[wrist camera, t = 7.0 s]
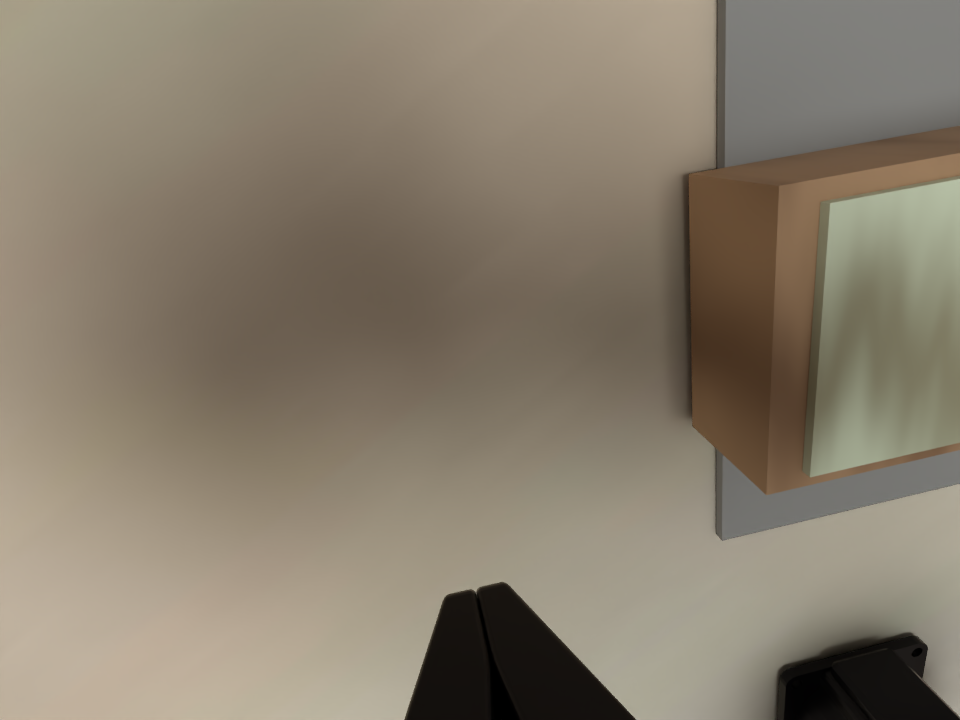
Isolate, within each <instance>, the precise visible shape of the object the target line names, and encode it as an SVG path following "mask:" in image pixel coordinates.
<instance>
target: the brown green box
mask: <svg viewBox="0 0 960 720" xmlns="http://www.w3.org/2000/svg"><path fill="white" fill-rule="evenodd" d="M689 228H690V294H691V360H692V426H693V427H694V428H695V429H696V430H697V431H698V432H699V433H700V434H701V435H702V436H704V437H705V438H706V439H707V440H708V441H709V442H710V443H711V444H712V445H713V446H714V447H715V448H716V449H717V450H719V451H720V452H721V453H722V454H723V455H724V456H725V457H726V458H727V459H728V460H729V461H730V462H731V463H732V464H733V465H735V466H736V467H737V468H738V469H739V470H740V471H741V472H742V473H743V474H744V475H745V476H746V477H747V478H748V479H749V480H751V481H752V482H753V483H754V484H755V485H756V486H757V487H758V488H759V489H760V490H761V491H762V492H763V493H764V494H765V495H770V494H774V493H778V492H783V491H787V490H791V489H795V488H800V487H804V486H808V485H813V484H817V483H821V482H825V481H830V480H834V479H838V478H842V477H847V476H851V475H855V474H860V473H864V472H868V471H872V470H877V469H881V468H885V467H889V466H894V465H898V464H902V463H907V462H911V461H915V460H919V459H924V458H928V457H932V456H936V455H941V454H945V453H949V452H954V451H958V450H960V126H955V127H949V128H944V129H938V130H932V131H927V132H921V133H916V134H910V135H904V136H899V137H893V138H887V139H882V140H876V141H871V142H865V143H859V144H854V145H848V146H843V147H837V148H831V149H826V150H820V151H815V152H809V153H803V154H798V155H792V156H787V157H781V158H775V159H770V160H764V161H759V162H753V163H747V164H742V165H736V166H730V167H725V168H719V169H714V170H708V171H702V172H697V173H691V174H689Z"/></svg>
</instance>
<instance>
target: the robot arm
mask: <svg viewBox="0 0 960 720" xmlns="http://www.w3.org/2000/svg"><path fill="white" fill-rule="evenodd" d="M927 651H928V647H927V645H926V644H925V643H924V642H923V641H922V640H921V639H919V638H918V637H917V636H910V637H906V638H902V639H899V640H895V641H891V642H887V643H883V644H880V645H876V646H872V647H868V648H864V649H861V650H857V651H853V652H849V653H845V654H842V655H838V656H834V657H830V658H827V659H823V660H819V661H815V662H811V663H808V664H804V665H800V666H796V667H792V668H790V669H787V670H786V671H784V672H783V673H782V675H781V676H780V682H779V699H778V715H777V720H960V717H959V716H958V715H957V714H956V713H955V712H954V711H953V710H952V709H951V708H950V707H949V706H948V705H947V704H946V703H945V702H944V701H943V700H942V699H941V698H940V697H939V696H938V695H937V694H936V693H935V692H934V691H933V690H932V689H931V688H930V687H929V686H928V685H927V684H926V682H925V681H924V680H923V679H922V677H923V672H924V666H925V661H926V656H927ZM404 720H636V719H635V718H634V717H633V716H632V715H631V714H630V713H629V712H628V711H627V710H626V708H625V707H624V706H623V705H622V704H621V703H620V702H619V701H618V700H617V699H616V698H615V697H614V696H613V695H612V694H611V693H610V692H609V690H608V689H607V688H606V687H605V686H604V685H603V684H602V683H601V682H600V681H599V680H598V679H597V678H596V677H595V676H594V675H593V674H592V673H591V671H590V670H589V669H588V668H587V667H586V666H585V665H584V664H583V663H582V662H581V661H580V660H579V659H578V658H577V657H576V656H575V655H574V653H573V652H572V651H571V650H570V649H569V648H568V647H567V646H566V645H565V644H564V643H563V642H562V641H561V640H560V639H559V638H558V637H557V636H556V634H555V633H554V632H553V631H552V630H551V629H550V628H549V627H548V626H547V625H546V624H545V623H544V622H543V621H542V620H541V619H540V618H539V617H538V615H537V614H536V613H535V612H534V611H533V610H532V609H531V608H530V607H529V606H528V605H527V604H526V603H525V602H524V601H523V600H522V599H521V597H520V596H519V595H518V594H517V593H516V592H515V591H514V590H513V589H512V588H511V587H510V586H509V585H508V584H507V583H504V582H500V583H496V584H491V585H487V586H482V587H479V588H478V589H477V595H476V593H475V591H474V590H471V589H470V590H465V591H461V592H456V593H452V594H448V595H447V596H446V597H445V598H444V600H443V602H442V605H441V609H440V612H439V615H438V618H437V621H436V624H435V627H434V630H433V633H432V636H431V639H430V642H429V645H428V649H427V652H426V655H425V658H424V661H423V664H422V667H421V670H420V673H419V676H418V679H417V682H416V685H415V689H414V692H413V695H412V698H411V701H410V704H409V707H408V710H407V713H406V716H405V719H404Z"/></svg>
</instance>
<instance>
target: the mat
mask: <svg viewBox="0 0 960 720" xmlns="http://www.w3.org/2000/svg"><path fill="white" fill-rule="evenodd" d="M955 126H960V0H718V40H717V169H719V168H725V167H730V166H736V165H742V164H747V163H753V162H759V161H764V160H770V159H775V158H781V157H787V156H792V155H798V154H803V153H809V152H815V151H820V150H826V149H831V148H837V147H843V146H848V145H854V144H859V143H865V142H871V141H876V140H882V139H887V138H893V137H899V136H904V135H910V134H916V133H921V132H927V131H932V130H938V129H944V128H949V127H955ZM956 484H960V450H958V451H954V452H949V453H945V454H941V455H936V456H932V457H928V458H924V459H919V460H915V461H911V462H907V463H902V464H898V465H894V466H889V467H885V468H881V469H877V470H872V471H868V472H864V473H860V474H855V475H851V476H847V477H842V478H838V479H834V480H830V481H825V482H821V483H817V484H813V485H808V486H804V487H800V488H795V489H791V490H787V491H783V492H778V493H774V494H770V495H765V494H764V493H763V492H762V491H761V490H760V489H759V488H758V487H757V486H756V485H755V484H754V483H753V482H752V481H751V480H749V479H748V478H747V477H746V476H745V475H744V474H743V473H742V472H741V471H740V470H739V469H738V468H737V467H736V466H735V465H733V464H732V463H731V462H730V461H729V460H728V459H727V458H726V457H725V456H724V455H723V454H722V453H721V452H720V451H719V450H717V449H716V534H717V535H718V536H719V538H720V539H721V540H722V541H723V540H727V539H731V538H735V537H739V536H744V535H748V534H752V533H756V532H760V531H764V530H769V529H773V528H777V527H781V526H785V525H790V524H794V523H798V522H802V521H806V520H810V519H815V518H819V517H823V516H827V515H831V514H835V513H840V512H844V511H848V510H852V509H856V508H860V507H865V506H869V505H873V504H877V503H881V502H885V501H890V500H894V499H898V498H902V497H906V496H911V495H915V494H919V493H923V492H927V491H931V490H936V489H940V488H944V487H948V486H952V485H956Z"/></svg>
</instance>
